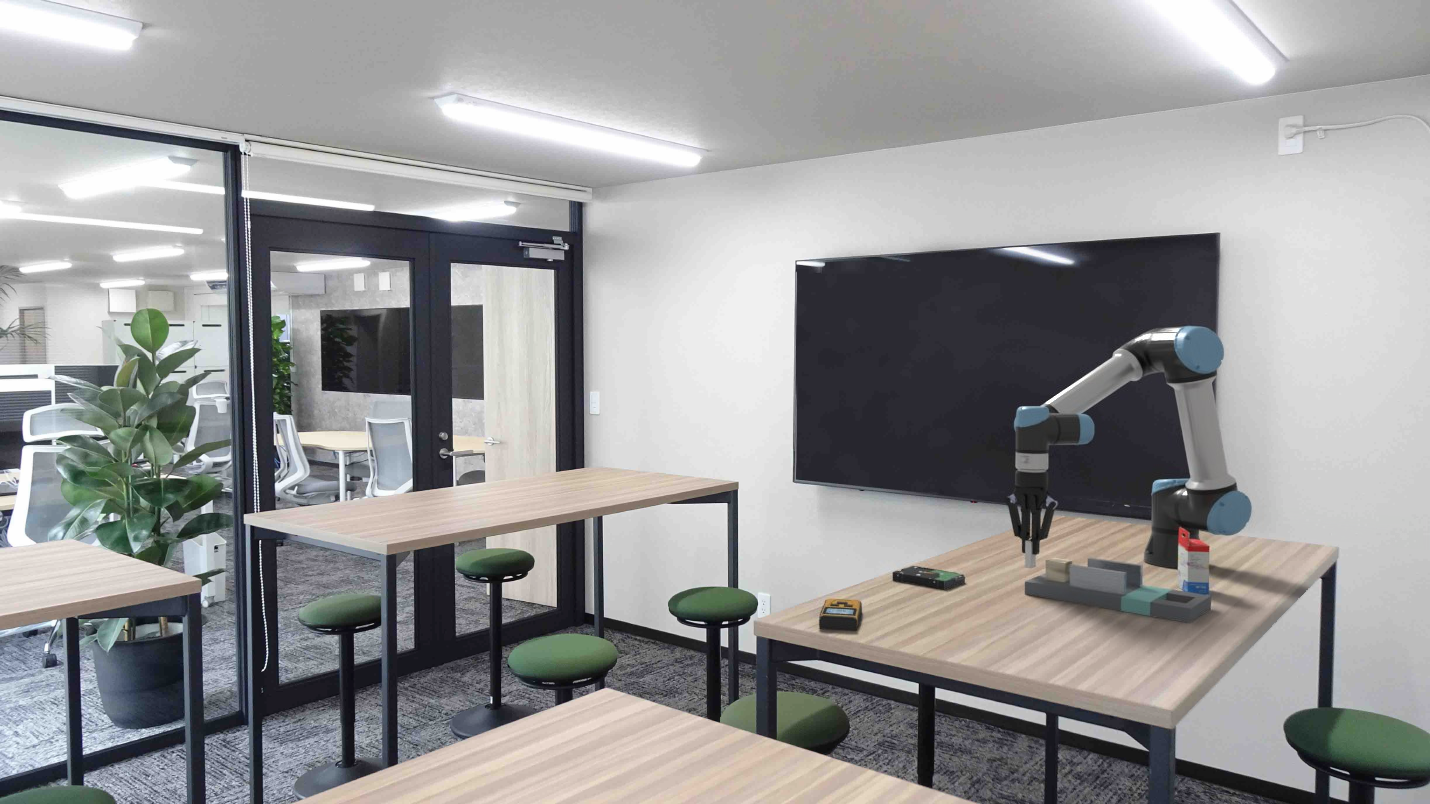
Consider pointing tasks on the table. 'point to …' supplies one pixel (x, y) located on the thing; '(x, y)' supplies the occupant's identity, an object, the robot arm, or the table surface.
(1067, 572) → the brass block
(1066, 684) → the table surface
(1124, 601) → the tunnel deck
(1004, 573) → the table surface
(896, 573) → the disk drive
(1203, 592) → the ink box
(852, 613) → the electronic device
